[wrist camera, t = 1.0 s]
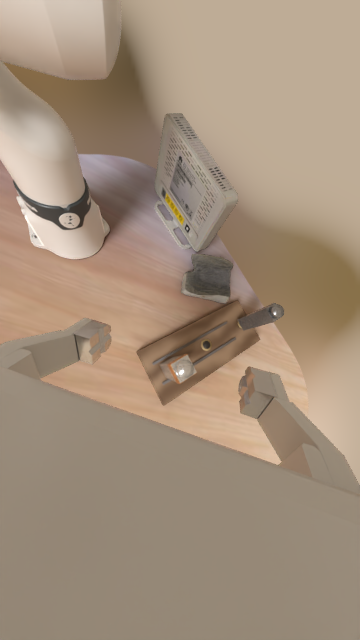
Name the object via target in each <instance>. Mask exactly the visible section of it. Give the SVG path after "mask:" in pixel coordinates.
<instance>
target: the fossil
mask: <svg viewBox="0 0 360 640" xmlns="http://www.w3.org/2000/svg"><path fill="white" fill-rule="evenodd" d="M191 259H192V263H193V266H194V271H192V272H190V271H188V272H186V273H185V274H184V278H183V281H182V289H181V293H183V294H185V295H187V296H192V297H198V298H202V299H207V300H211V301H215V302H219V303H225V304H226V303H227V301H228V300H229V298H230V287H229V283H230V270H231V269H232V268H233V264H232V263H231V262H230V261H228V260H226V259H224V258H222V257H215V256H208V255H205V254H198V255H196V254H192V257H191Z"/></svg>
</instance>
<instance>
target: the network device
mask: <svg viewBox="0 0 360 640" xmlns="http://www.w3.org/2000/svg"><path fill="white" fill-rule="evenodd" d="M155 191H156V193H157V194H158V196H159V197H160V199H161V200H159V201H157V202H156V203H155V211H156V212H157V214H158V215H159V217H160V218H161V220H162V221H163V223H164V224H165V226H166V227H167V229H168V231H169V232H170V234H171V235H172V237H173V238H174V240H175V241H176V243H177V244H178V246H179V247H181V248H183V249H190V248H193V249H194V250H195V251H196V252H198V251H200V250H202V249H205V248H207V247H208V245H209V244H210V242H211V241H212V240H213V238H214V237H215V235H216V234H217V232H218V230H219V229H220V228H221V226H222V225H223V223H224V222H225V220H226V219H227V217H228V216H229V215H230V213H231V212H232V210H233V209H234V207H235V206H236V204H237V201H238V195H237V192H236V191H235V189H234V188H233V187H232V185H231V184H230V182H229V181H228V179H227V178H226V176H225V175H224V174H223V172H222V171H221V169H220V168H219V166H218V165H217V163H216V162H215V160H214V159H213V158H212V156H211V155H210V153H209V152H208V150H207V149H206V147H205V146H204V145H203V143H202V142H201V140H200V139H199V137H198V136H197V134H196V133H195V132H194V130H193V129H192V127H191V126H190V124H189V123H188V121H187V120H186V119H185V117H184V116H183V114H181V113H179V114H178V113H177V114H176V113H174V114H166V115H165V118H164V125H163V131H162V138H161V144H160V151H159V158H158V164H157V171H156V178H155ZM163 204H164V205H165V207H166V208H167V210H168V211H169V213H170V214H171V216H172V217H173V220H171V221H168V220H166V219H165V218H164V216H163V215H162V213H161V212H160V210H159V209H158V206H159V205H163ZM177 228H180V229H181V231H182V232H183V234H184V235H185V237H186V239H187V240H188V242H189V243H190V244H187V245H183V244H181V242H180V241H179V239H178V238H177V236H176V235H175V233H174V231H173V230H174V229H177Z"/></svg>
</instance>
